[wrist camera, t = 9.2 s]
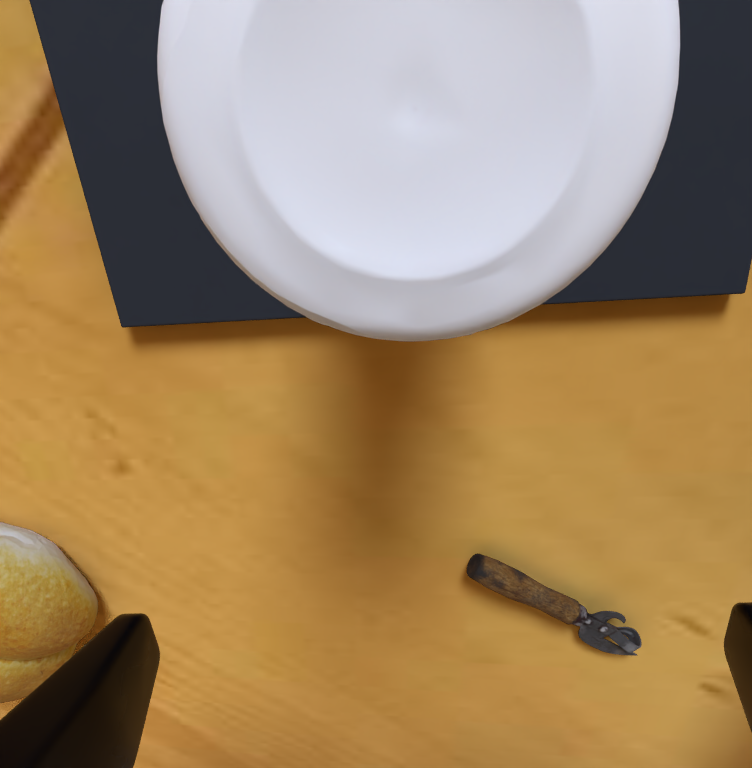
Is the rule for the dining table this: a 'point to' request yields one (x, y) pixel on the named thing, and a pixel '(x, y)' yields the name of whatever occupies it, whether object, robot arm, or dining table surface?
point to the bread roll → (38, 610)
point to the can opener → (554, 605)
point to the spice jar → (416, 147)
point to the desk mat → (250, 302)
